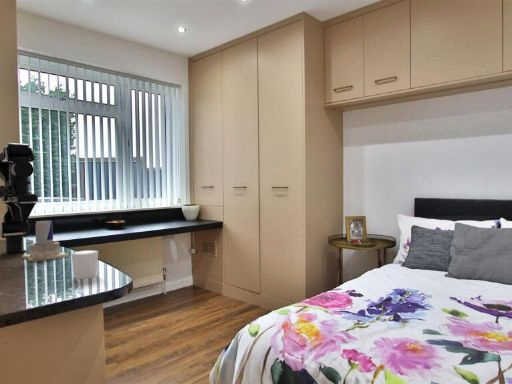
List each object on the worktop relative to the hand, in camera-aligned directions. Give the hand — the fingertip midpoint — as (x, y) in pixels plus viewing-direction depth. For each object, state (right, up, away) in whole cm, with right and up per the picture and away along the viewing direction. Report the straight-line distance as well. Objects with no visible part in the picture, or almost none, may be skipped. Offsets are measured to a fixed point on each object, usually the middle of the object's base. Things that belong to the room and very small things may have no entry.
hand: (19, 221), depth 127 cm
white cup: (+36, -14, -27) cm, 47 cm away
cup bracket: (+9, -13, +1) cm, 16 cm away
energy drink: (+8, -12, +1) cm, 15 cm away
